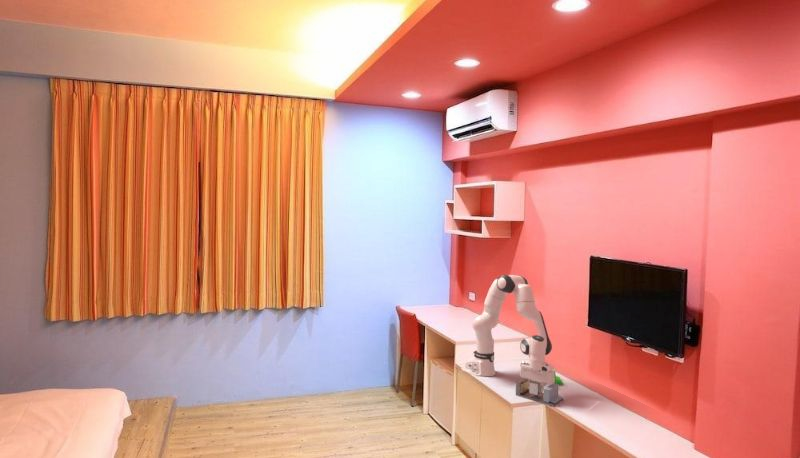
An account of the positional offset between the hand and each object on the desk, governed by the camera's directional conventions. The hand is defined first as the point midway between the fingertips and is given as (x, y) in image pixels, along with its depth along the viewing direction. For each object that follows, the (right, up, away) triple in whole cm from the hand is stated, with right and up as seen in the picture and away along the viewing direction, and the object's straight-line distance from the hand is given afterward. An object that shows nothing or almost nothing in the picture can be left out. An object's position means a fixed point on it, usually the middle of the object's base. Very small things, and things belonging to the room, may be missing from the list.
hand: (536, 388), depth 283 cm
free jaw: (+8, -4, -7) cm, 11 cm away
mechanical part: (+20, -5, +27) cm, 34 cm away
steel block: (0, -2, 0) cm, 2 cm away
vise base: (+1, -5, -1) cm, 5 cm away
